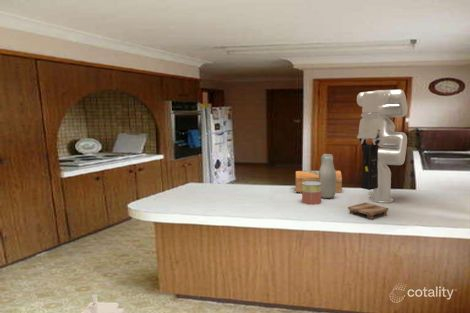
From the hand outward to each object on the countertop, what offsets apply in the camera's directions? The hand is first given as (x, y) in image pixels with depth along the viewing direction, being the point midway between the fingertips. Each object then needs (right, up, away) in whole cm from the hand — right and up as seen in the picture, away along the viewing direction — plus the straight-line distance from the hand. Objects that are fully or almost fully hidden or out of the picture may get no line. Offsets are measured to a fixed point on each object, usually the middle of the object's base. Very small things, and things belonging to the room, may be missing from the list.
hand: (369, 151), depth 170 cm
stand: (+1, -33, +5) cm, 33 cm away
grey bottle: (-11, -29, +39) cm, 49 cm away
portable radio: (+1, -19, +3) cm, 20 cm away
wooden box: (-12, -26, +59) cm, 65 cm away
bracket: (-139, -109, -5) cm, 177 cm away
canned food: (-23, -31, +30) cm, 48 cm away
